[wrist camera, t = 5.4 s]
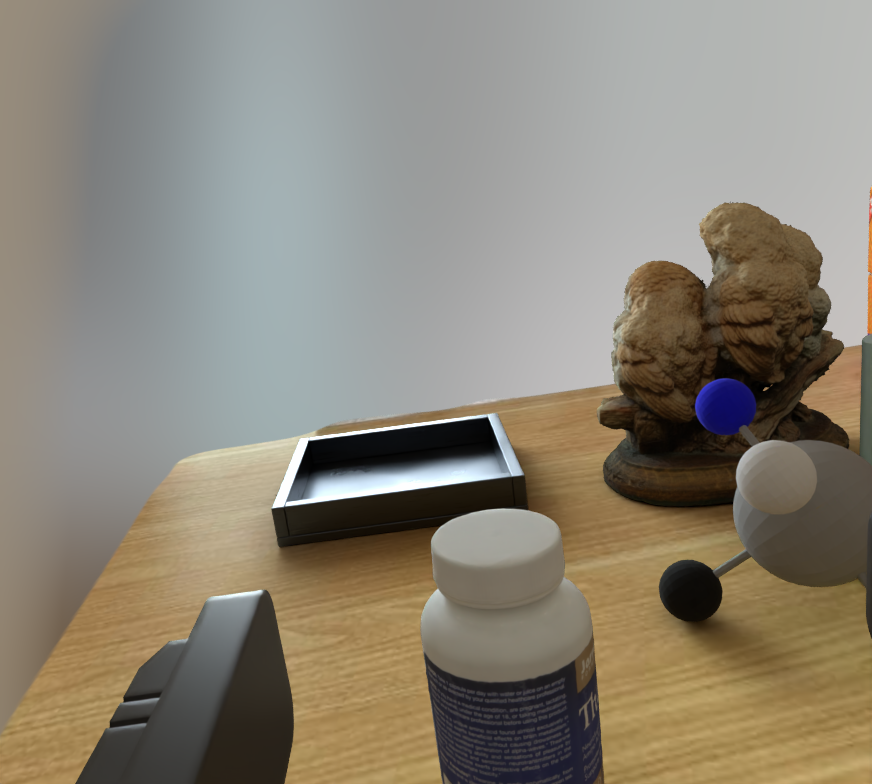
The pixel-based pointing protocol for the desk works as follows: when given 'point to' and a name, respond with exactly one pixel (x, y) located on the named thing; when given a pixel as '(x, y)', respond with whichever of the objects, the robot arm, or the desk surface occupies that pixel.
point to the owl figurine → (717, 358)
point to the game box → (870, 269)
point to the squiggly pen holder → (866, 400)
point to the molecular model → (779, 509)
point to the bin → (397, 479)
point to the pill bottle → (510, 655)
